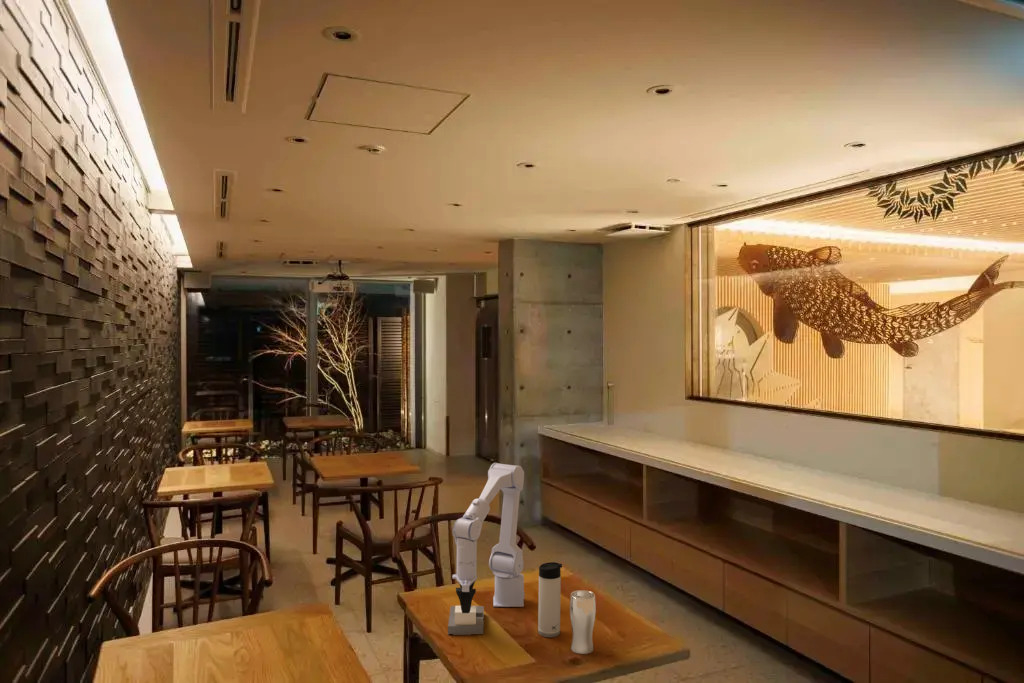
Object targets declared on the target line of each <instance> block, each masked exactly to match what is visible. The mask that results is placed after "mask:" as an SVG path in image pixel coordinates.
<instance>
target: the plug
mask: <svg viewBox="0 0 1024 683" xmlns="http://www.w3.org/2000/svg"><path fill="white" fill-rule="evenodd" d="M454 606H455V625H470V624H476V617H483V613H476V606H477V605H471V609H470V613H462V610H461V605H454Z"/></svg>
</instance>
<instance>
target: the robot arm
mask: <svg viewBox="0 0 1024 683" xmlns="http://www.w3.org/2000/svg"><path fill="white" fill-rule="evenodd" d="M487 477H488V478H487V481H486V484H485V485H484V488H483V489H482V491H481V493H480V495H479V497H478V498H475V499H473V500H472V502H471V503H470V504H469V507H468V508H467V510H466V511H465V513H464V514H463V516H462V517H460V518H458V519H456V521H455V522H454V524H453V528H452V535H453V537H454V538H453V539H454V543H455V545H456V574H455V573H454V574H452V579H453V580H456V581H457V582H458V584H459V587H455V593H456V596H457V597H458V600H459V603H460V605H459V606H461V610H462V613H470V609H471V606H472V602H473V598H474V596H475V594H476V592H477V588H474V585H475V583H476V581H477V579H478V575H477V551H478V550H477V543H478V542H477V540H478V539H479V538H480V536H481V532H482V528H483V522H484V521H485V519H486V517H487V515H488V514H489V512H490V510H491V509H490V504H491V502H492V501H493V500H494V498H495V497H496V496H497V494H498V493H499V492H500V491H502V493H503V498H502V508H501V509H502V510H501V519H500V520H501V521H500V532H499V539H498V540H499V542H498V543H497V544H495V545H494V546H493V547H492V548H491V554H490V557H489V560H488V567H489V569H490V570H491V571H492V575H494V595H493V596H492V598H493V599H492V600H493V601H492V602H493V603H492V604H493V606H492V607H494V608H500V607H501V608H502V607H503V608H504V607H505V608H511V607H515V608H517V607H519V608H520V607H524V606H525V605H524V604H525V602H524V599H525V595H526V594H525V576H524V574H522V572H523V568H524V564H525V563H524V562H525V561H524V559H523V555H524V554H523V553H524V551H523V550H522V549H521V547H519V546H518V545H517V543H516V541H517V530H518V528H517V527H518V516H519V506H520V494H521V491H523V490H524V482H525V471H524V469H523V468H522V466H521V465H513V464H506V463H505V464H504V463H498V462H493V463H492V464H491V465H490V467H489V469H488V470H487Z"/></svg>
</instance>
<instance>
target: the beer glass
mask: <svg viewBox="0 0 1024 683" xmlns="http://www.w3.org/2000/svg"><path fill="white" fill-rule="evenodd" d="M596 608H597V607H596V594H595V593H594V592H593V591H589V590H584V589H582V590H581V589H579V590H574V591H572V592H571V593H570V602H569V615H570V616H569V617H570V624H571V632H572V640H571V645H570V650H571V651H572V652H573V653H575V654H579V655H588V653H589V654H591V653H592V652H593V651H594V644H593V632H594V627H595V619H596V612H597V610H596Z"/></svg>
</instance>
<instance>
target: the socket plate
mask: <svg viewBox="0 0 1024 683" xmlns="http://www.w3.org/2000/svg"><path fill="white" fill-rule="evenodd" d="M455 606H456V605H450V608H449V617H448V624H447V635H448V636H450V635H449V634H453V635H452V636H472V635H471V634H483V635H484V620H483V619H484V614H485V612H484V610H485V608H484V605H475V606H476V613H483V617H476V624H470V625H455Z"/></svg>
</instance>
